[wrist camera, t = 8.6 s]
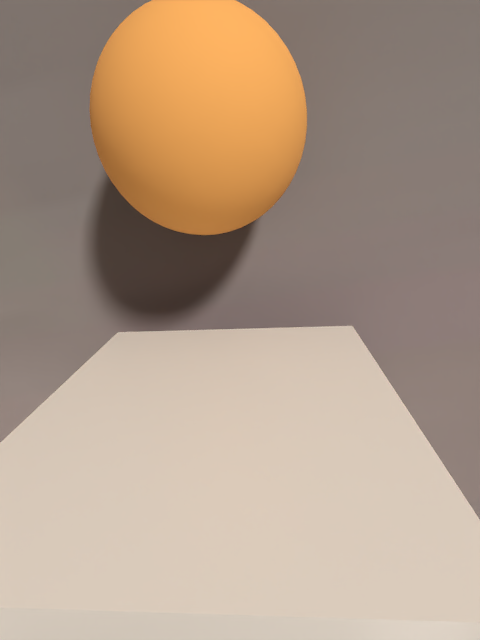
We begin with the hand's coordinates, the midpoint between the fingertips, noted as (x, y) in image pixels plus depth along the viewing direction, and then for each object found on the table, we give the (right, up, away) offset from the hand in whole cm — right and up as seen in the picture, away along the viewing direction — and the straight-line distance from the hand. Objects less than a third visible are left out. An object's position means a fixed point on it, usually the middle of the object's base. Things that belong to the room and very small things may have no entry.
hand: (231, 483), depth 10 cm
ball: (-1, +9, -1) cm, 9 cm away
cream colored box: (0, +1, +2) cm, 2 cm away
